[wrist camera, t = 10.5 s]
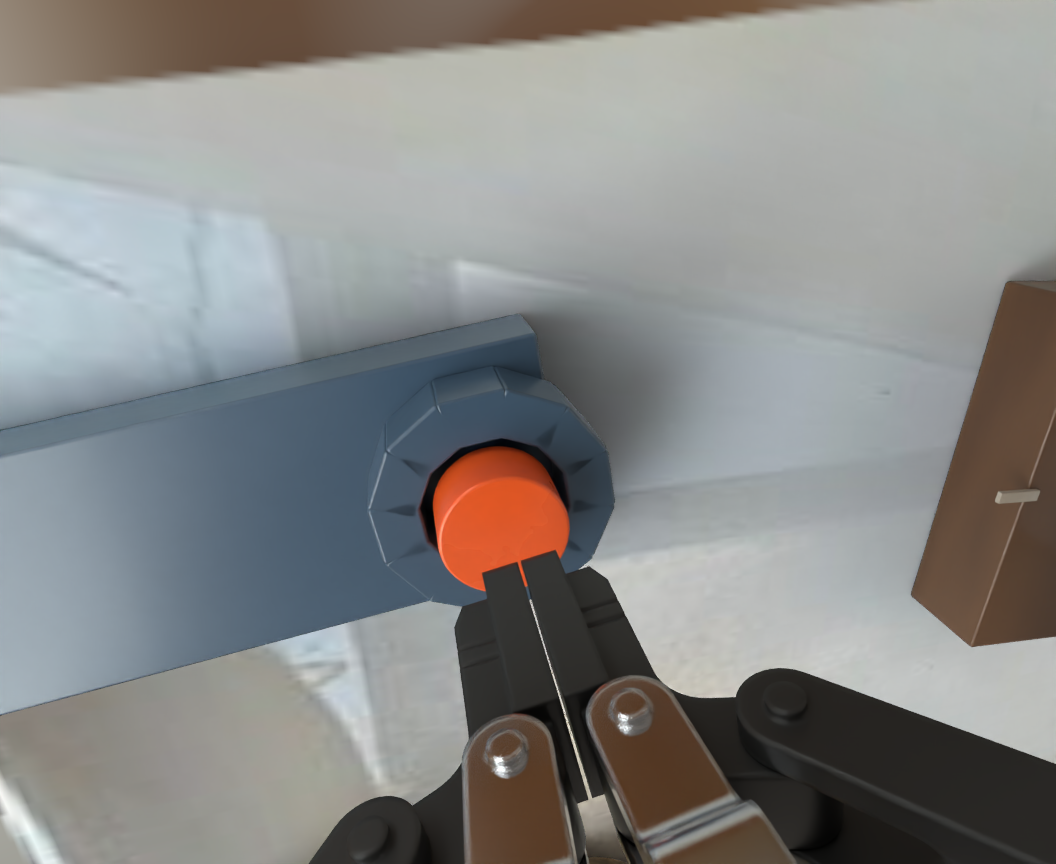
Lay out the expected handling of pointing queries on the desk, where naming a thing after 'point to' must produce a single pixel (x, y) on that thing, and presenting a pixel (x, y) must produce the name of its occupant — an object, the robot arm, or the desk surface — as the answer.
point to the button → (496, 513)
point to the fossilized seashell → (604, 860)
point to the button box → (264, 505)
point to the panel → (1002, 487)
